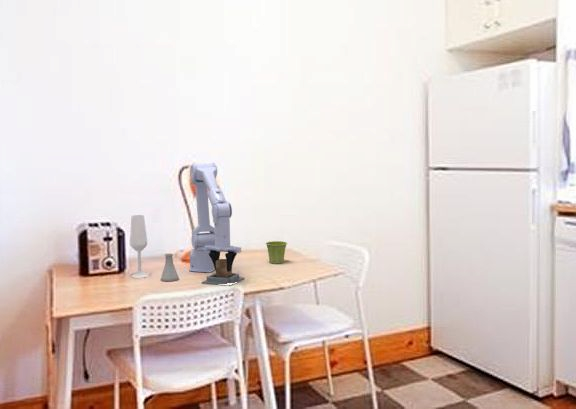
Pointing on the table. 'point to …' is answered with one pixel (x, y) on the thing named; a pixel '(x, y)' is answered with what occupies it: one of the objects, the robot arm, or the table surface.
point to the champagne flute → (138, 240)
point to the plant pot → (276, 251)
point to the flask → (169, 269)
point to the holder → (223, 279)
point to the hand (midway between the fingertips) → (223, 270)
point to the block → (222, 268)
